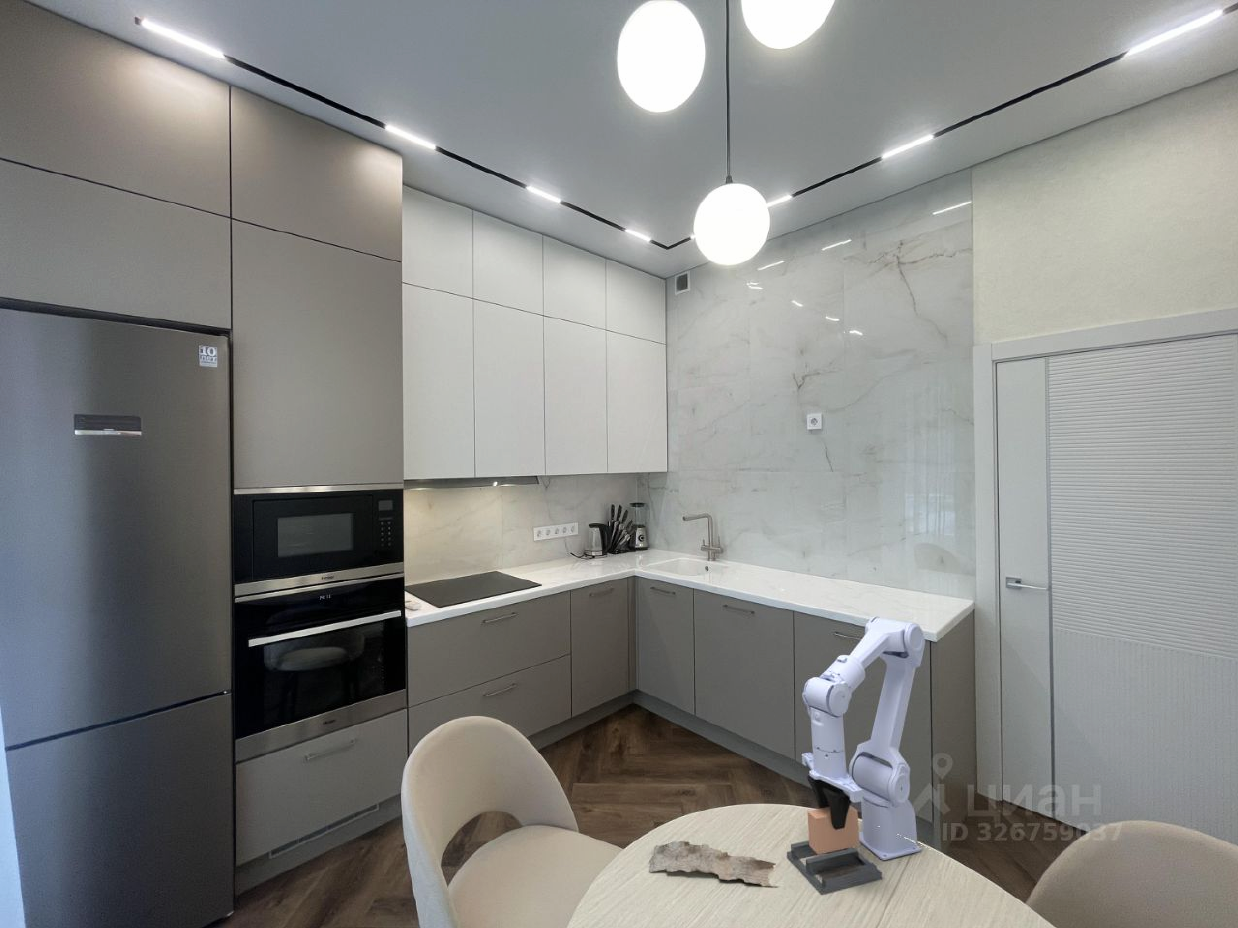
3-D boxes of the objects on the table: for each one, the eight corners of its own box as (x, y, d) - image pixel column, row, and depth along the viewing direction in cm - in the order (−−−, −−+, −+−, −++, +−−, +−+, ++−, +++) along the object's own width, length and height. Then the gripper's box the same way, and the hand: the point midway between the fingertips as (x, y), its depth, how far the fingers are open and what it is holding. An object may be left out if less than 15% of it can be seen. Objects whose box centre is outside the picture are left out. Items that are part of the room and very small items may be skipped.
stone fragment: (648, 854, 98) (648, 891, 89) (647, 839, 99) (648, 874, 89) (776, 853, 97) (791, 891, 88) (775, 838, 98) (790, 873, 88)
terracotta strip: (850, 836, 94) (847, 803, 95) (859, 844, 92) (857, 810, 92) (809, 845, 92) (807, 810, 93) (818, 854, 89) (815, 818, 90)
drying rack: (843, 844, 99) (842, 832, 99) (882, 878, 89) (881, 865, 90) (787, 857, 95) (786, 845, 96) (821, 894, 86) (820, 880, 86)
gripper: (787, 732, 100) (791, 804, 98) (836, 766, 86) (842, 851, 84) (817, 728, 102) (821, 798, 100) (870, 761, 88) (876, 843, 86)
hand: (833, 822), depth 92 cm, fingers closed on terracotta strip, 2 cm apart
